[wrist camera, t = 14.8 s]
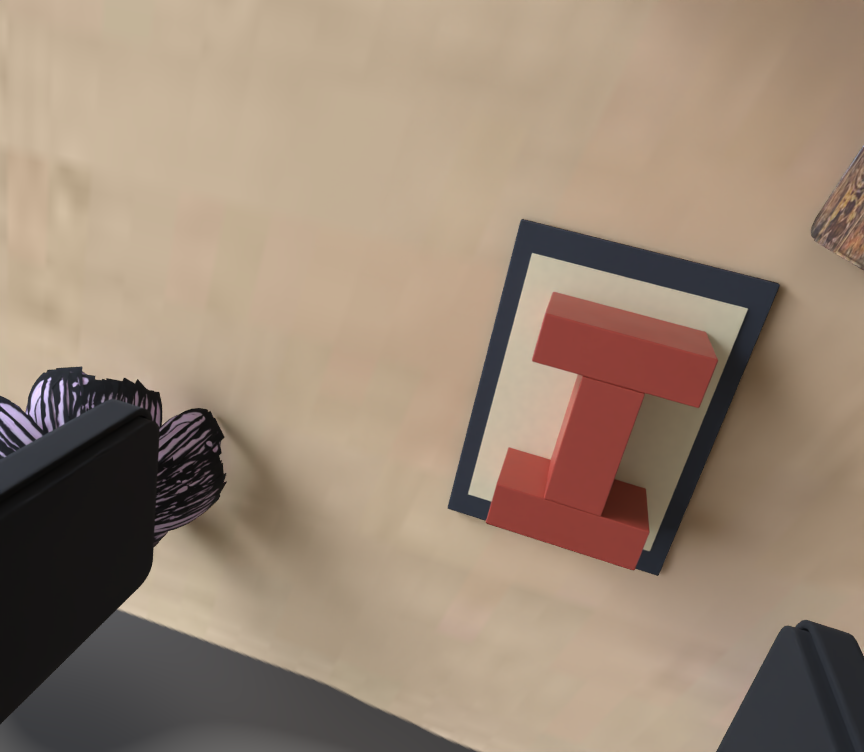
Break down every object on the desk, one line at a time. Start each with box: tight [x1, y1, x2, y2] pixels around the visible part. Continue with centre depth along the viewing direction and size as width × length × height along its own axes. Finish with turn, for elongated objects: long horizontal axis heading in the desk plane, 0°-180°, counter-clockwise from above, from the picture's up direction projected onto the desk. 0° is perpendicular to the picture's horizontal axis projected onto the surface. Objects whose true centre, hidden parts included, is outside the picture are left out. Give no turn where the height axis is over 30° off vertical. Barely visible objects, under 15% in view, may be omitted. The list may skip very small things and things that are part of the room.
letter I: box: [486, 292, 718, 570], centre depth 36 cm, size 8×12×4 cm, turn 168°
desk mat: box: [448, 219, 780, 576], centre depth 38 cm, size 13×18×1 cm
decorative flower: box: [0, 367, 226, 547], centre depth 43 cm, size 15×12×15 cm
